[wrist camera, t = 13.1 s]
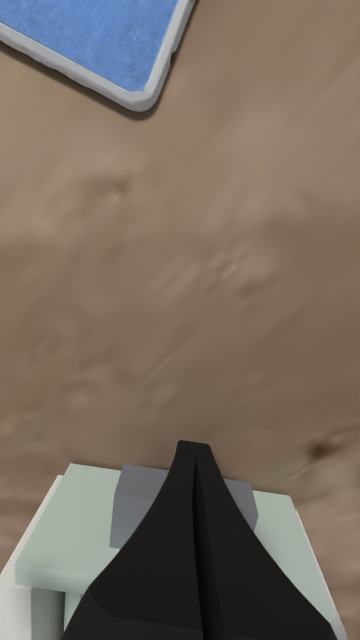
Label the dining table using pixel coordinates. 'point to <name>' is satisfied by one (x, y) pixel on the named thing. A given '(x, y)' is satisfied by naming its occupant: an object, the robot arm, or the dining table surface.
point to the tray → (91, 522)
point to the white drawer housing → (57, 598)
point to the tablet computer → (101, 42)
